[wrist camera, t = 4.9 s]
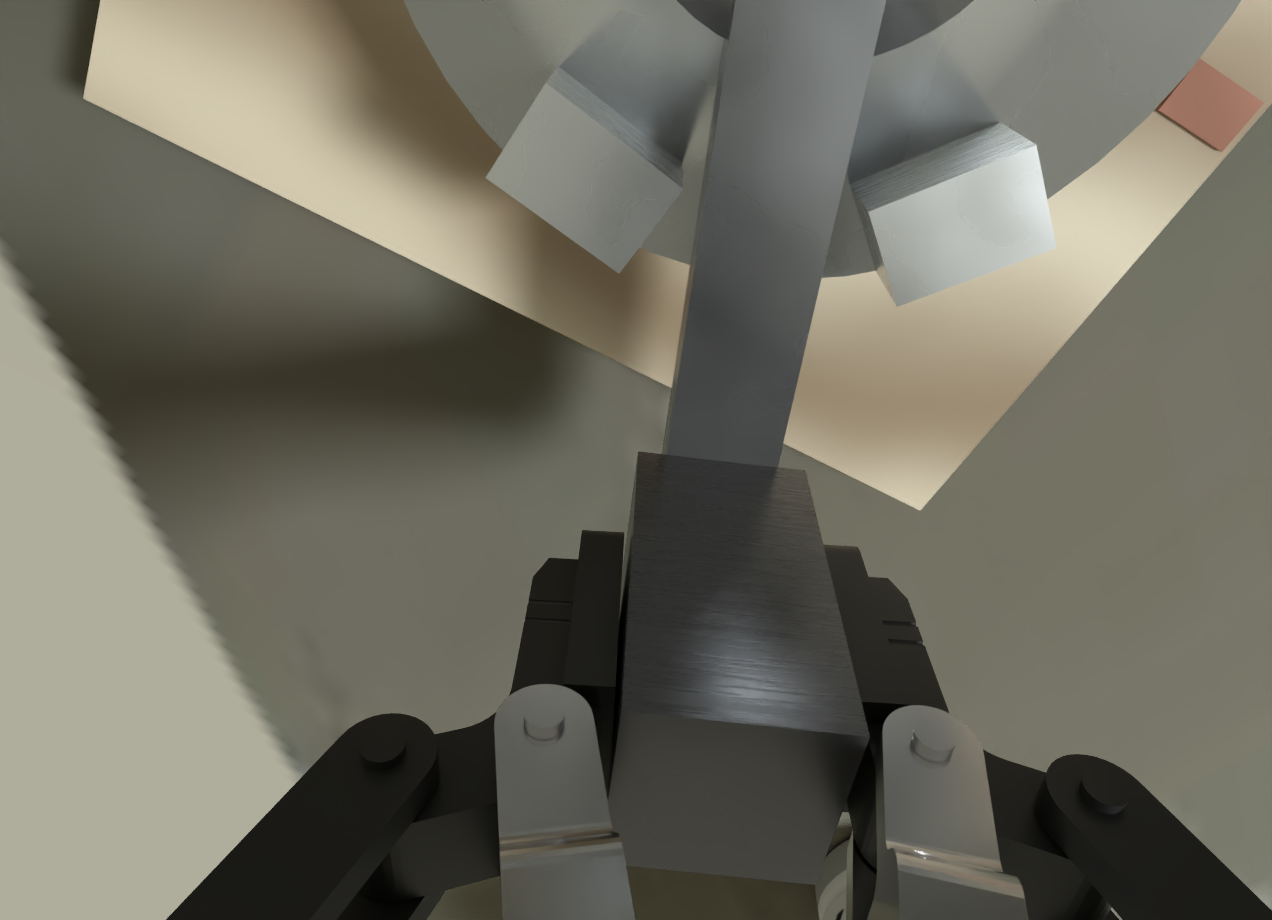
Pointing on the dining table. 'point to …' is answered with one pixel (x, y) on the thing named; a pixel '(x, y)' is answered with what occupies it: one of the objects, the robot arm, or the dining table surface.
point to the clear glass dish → (779, 316)
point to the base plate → (649, 283)
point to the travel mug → (833, 885)
